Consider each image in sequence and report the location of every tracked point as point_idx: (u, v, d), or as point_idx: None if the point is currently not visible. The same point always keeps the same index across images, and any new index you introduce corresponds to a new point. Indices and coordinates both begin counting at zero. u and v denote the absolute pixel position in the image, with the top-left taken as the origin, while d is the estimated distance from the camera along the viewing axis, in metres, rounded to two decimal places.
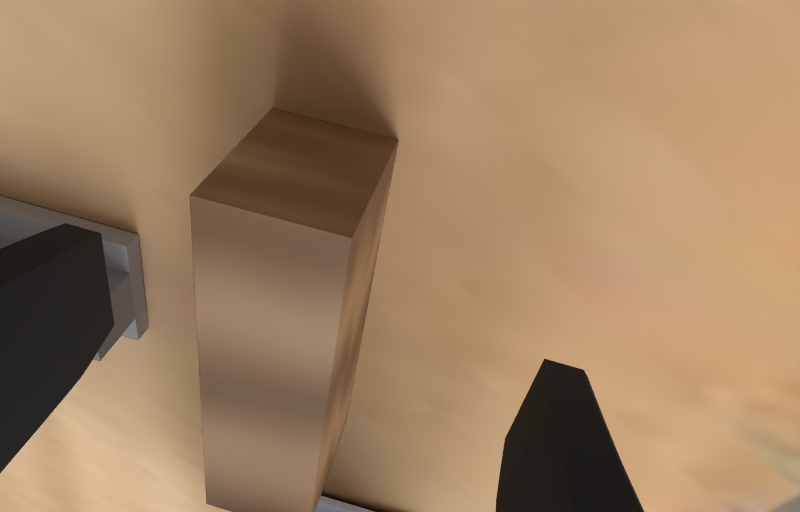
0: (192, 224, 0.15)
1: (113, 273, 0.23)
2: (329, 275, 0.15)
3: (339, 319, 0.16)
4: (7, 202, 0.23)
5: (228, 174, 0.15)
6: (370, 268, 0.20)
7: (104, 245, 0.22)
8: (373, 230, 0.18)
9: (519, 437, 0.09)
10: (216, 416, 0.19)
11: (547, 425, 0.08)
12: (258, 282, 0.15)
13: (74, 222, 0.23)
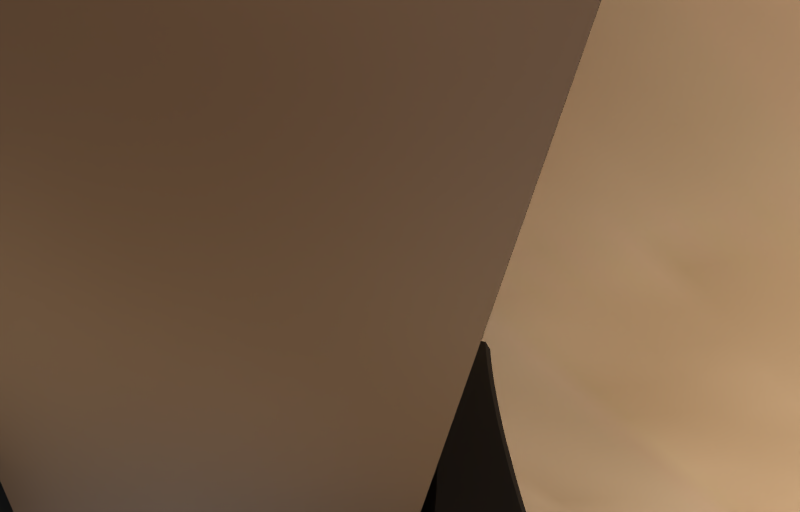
0: None
1: None
2: (450, 176, 0.03)
3: (464, 378, 0.04)
4: None
5: None
6: None
7: None
8: None
9: None
10: None
11: None
12: (128, 222, 0.04)
13: None
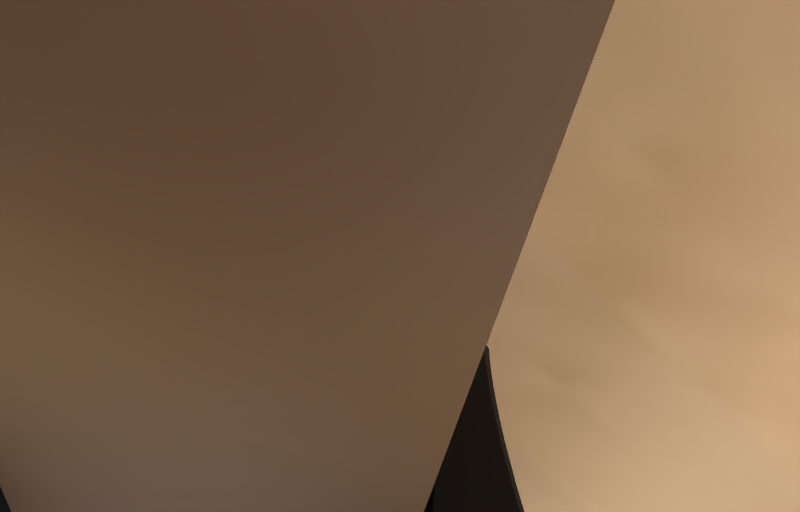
0: None
1: None
2: (458, 181, 0.03)
3: (468, 383, 0.04)
4: None
5: None
6: None
7: None
8: None
9: None
10: None
11: None
12: (130, 225, 0.04)
13: None
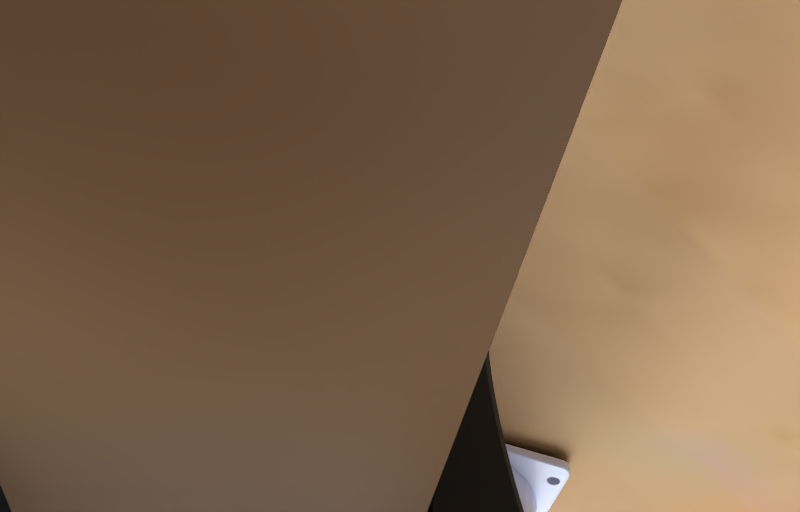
0: None
1: None
2: (462, 181, 0.03)
3: (472, 384, 0.04)
4: None
5: None
6: None
7: None
8: None
9: None
10: None
11: None
12: (131, 223, 0.04)
13: None
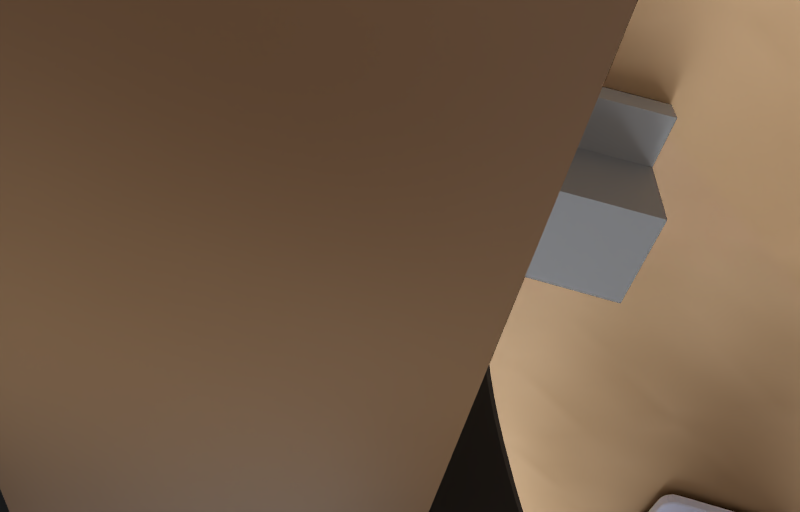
0: None
1: (633, 166, 0.14)
2: (474, 176, 0.03)
3: (478, 382, 0.04)
4: None
5: None
6: None
7: (634, 118, 0.14)
8: None
9: None
10: None
11: None
12: (135, 218, 0.04)
13: None
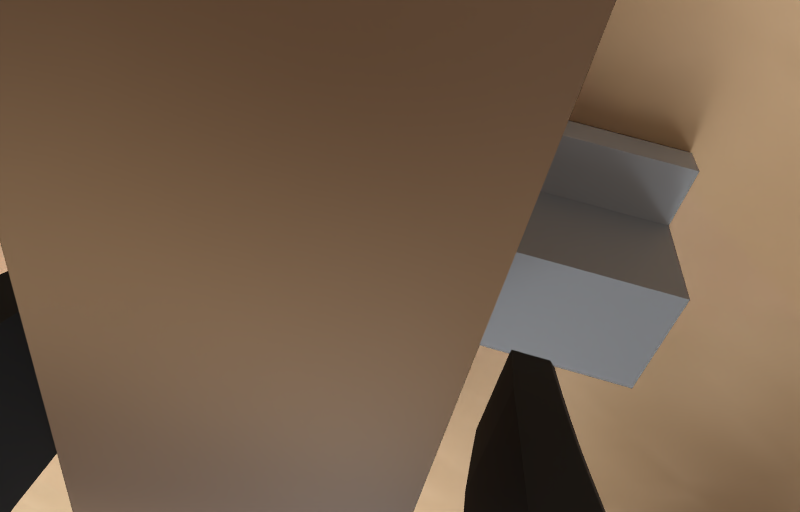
0: None
1: (646, 225, 0.12)
2: (493, 119, 0.04)
3: (491, 308, 0.04)
4: None
5: None
6: None
7: (648, 170, 0.12)
8: None
9: (487, 428, 0.09)
10: None
11: (509, 414, 0.08)
12: (202, 160, 0.04)
13: (578, 129, 0.12)
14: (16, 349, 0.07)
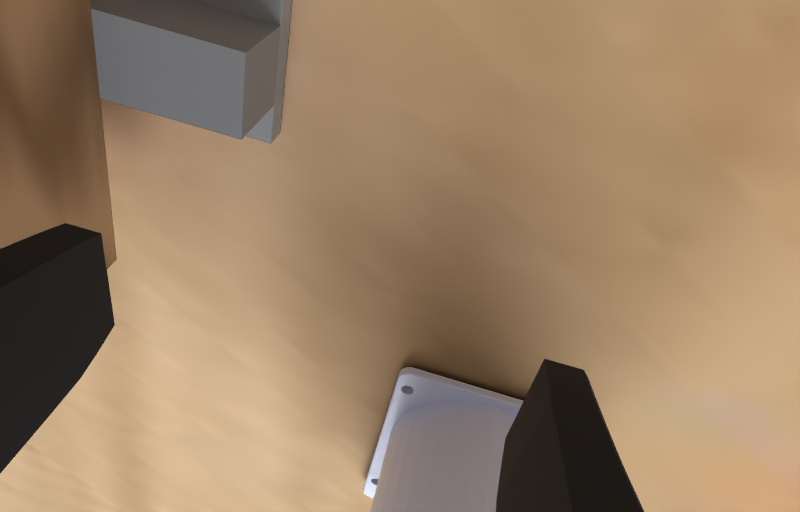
0: None
1: (259, 22, 0.16)
2: None
3: None
4: None
5: None
6: None
7: None
8: None
9: (519, 437, 0.09)
10: None
11: (547, 425, 0.08)
12: None
13: None
14: None
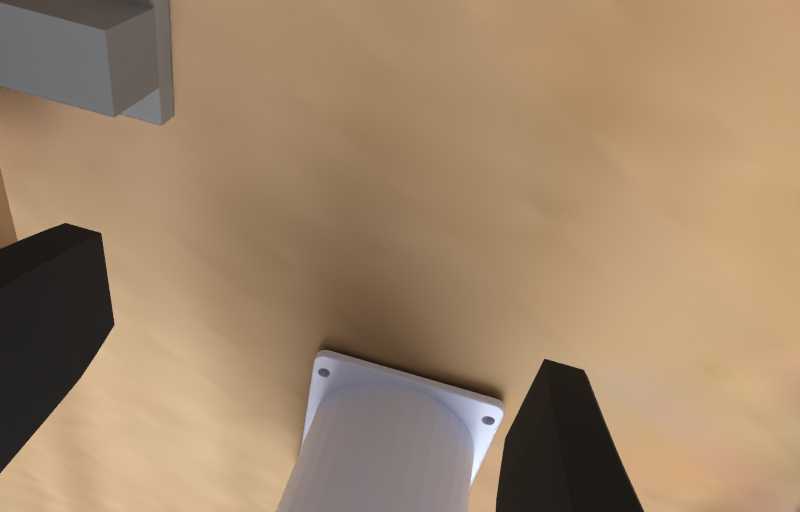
0: None
1: (133, 4, 0.17)
2: None
3: None
4: None
5: None
6: None
7: None
8: None
9: (519, 437, 0.09)
10: None
11: (547, 425, 0.08)
12: None
13: None
14: None
